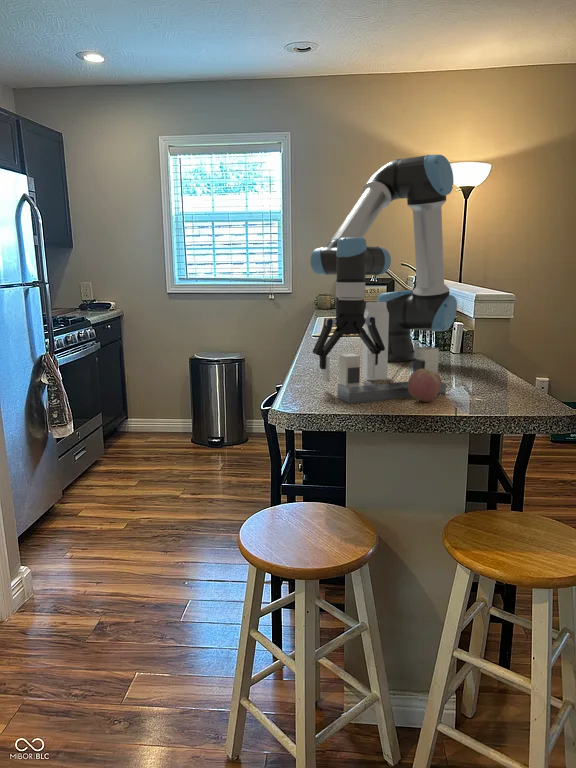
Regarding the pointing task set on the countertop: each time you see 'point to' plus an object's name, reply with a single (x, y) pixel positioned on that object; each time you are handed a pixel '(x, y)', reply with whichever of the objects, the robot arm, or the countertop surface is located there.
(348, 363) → the short white pillar
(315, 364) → the countertop surface
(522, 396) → the countertop surface
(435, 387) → the apple
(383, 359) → the milk
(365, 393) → the rail
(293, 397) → the countertop surface
